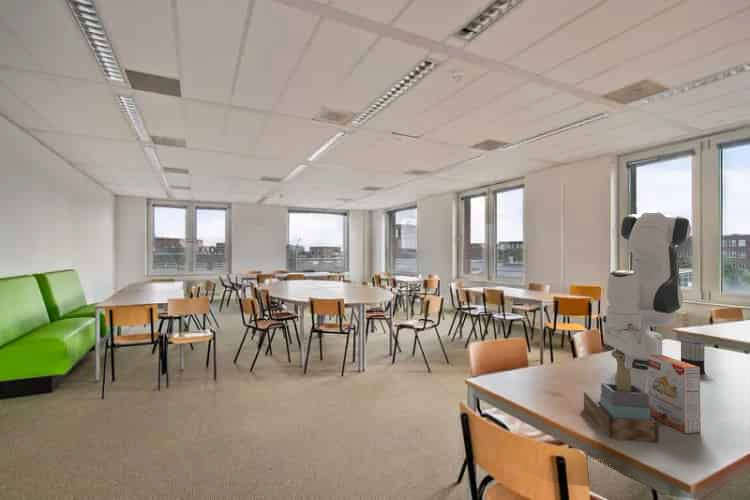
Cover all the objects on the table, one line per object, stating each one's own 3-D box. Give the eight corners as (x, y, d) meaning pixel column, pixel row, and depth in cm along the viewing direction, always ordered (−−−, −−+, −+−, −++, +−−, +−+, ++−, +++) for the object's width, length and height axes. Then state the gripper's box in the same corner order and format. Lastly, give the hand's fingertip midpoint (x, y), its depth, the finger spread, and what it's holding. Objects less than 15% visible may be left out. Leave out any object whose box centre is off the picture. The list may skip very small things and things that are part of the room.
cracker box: (646, 414, 129) (646, 354, 129) (663, 414, 129) (662, 354, 130) (683, 434, 115) (683, 366, 115) (701, 433, 115) (701, 366, 116)
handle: (633, 406, 113) (632, 356, 113) (609, 399, 118) (609, 352, 118) (638, 402, 116) (638, 354, 116) (615, 396, 121) (615, 350, 121)
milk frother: (711, 374, 172) (710, 342, 172) (675, 374, 172) (675, 342, 173) (686, 365, 186) (686, 335, 186) (654, 365, 187) (654, 335, 187)
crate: (634, 420, 121) (633, 384, 121) (650, 435, 111) (650, 395, 111) (600, 418, 123) (600, 381, 123) (613, 432, 113) (613, 393, 113)
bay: (624, 411, 131) (623, 394, 131) (658, 443, 110) (658, 422, 110) (584, 408, 134) (583, 392, 134) (610, 438, 112) (609, 418, 112)
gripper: (652, 328, 107) (652, 376, 106) (620, 316, 127) (620, 357, 127) (628, 327, 108) (628, 375, 108) (600, 316, 128) (600, 356, 128)
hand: (623, 365), depth 117 cm, fingers closed on handle, 4 cm apart
